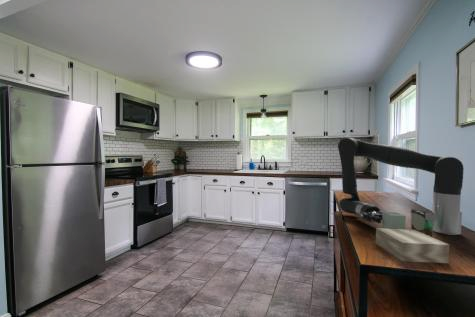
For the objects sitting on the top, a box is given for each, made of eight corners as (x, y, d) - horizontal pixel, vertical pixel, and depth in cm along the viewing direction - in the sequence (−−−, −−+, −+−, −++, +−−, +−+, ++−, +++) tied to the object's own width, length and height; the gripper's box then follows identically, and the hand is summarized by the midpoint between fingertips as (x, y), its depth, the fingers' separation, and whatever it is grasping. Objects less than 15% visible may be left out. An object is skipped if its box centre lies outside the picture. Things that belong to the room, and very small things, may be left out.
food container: (442, 241, 95) (444, 216, 95) (424, 240, 97) (426, 214, 96) (425, 232, 107) (426, 209, 107) (409, 230, 109) (410, 208, 108)
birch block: (413, 246, 90) (414, 229, 90) (448, 264, 75) (449, 244, 75) (375, 244, 91) (376, 228, 90) (402, 262, 76) (403, 242, 75)
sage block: (394, 235, 101) (395, 212, 101) (404, 240, 96) (405, 215, 95) (381, 235, 101) (382, 212, 101) (390, 239, 95) (391, 215, 95)
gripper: (353, 203, 116) (373, 211, 99) (382, 204, 116) (407, 212, 100) (352, 219, 116) (373, 229, 100) (381, 220, 116) (407, 230, 100)
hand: (390, 221), depth 100 cm, fingers open, 8 cm apart
